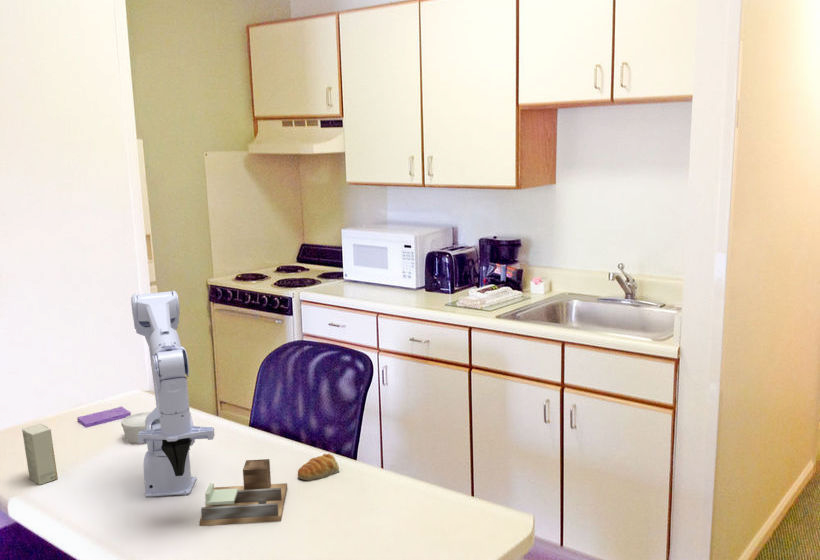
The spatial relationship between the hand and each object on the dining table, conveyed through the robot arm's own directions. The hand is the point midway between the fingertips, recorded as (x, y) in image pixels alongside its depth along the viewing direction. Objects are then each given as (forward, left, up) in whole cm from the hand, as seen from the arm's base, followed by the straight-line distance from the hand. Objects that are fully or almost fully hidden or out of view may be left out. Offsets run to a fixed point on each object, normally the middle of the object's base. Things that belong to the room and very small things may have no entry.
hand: (179, 473), depth 151 cm
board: (+12, +4, -9) cm, 16 cm away
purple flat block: (-36, +62, -10) cm, 72 cm away
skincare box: (-37, +23, -10) cm, 45 cm away
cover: (+8, 0, -6) cm, 10 cm away
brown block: (+14, +8, -8) cm, 18 cm away
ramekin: (-20, +46, -10) cm, 51 cm away
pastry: (+27, +18, -10) cm, 34 cm away
